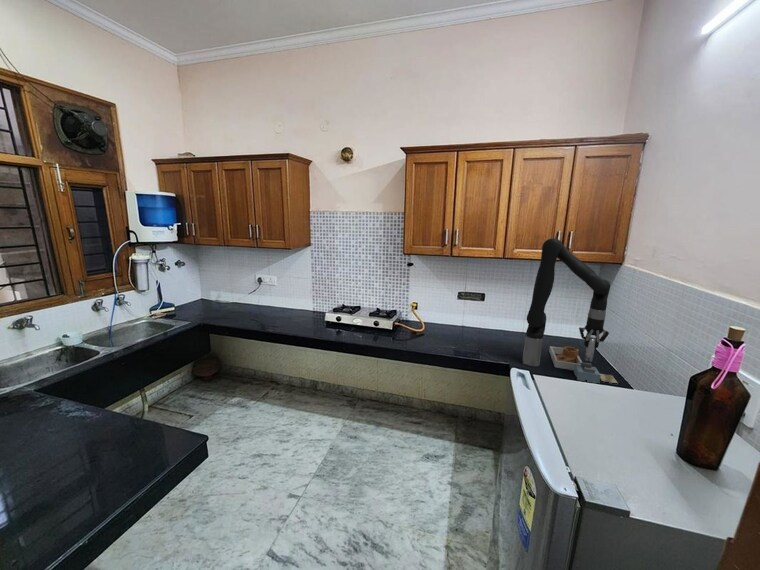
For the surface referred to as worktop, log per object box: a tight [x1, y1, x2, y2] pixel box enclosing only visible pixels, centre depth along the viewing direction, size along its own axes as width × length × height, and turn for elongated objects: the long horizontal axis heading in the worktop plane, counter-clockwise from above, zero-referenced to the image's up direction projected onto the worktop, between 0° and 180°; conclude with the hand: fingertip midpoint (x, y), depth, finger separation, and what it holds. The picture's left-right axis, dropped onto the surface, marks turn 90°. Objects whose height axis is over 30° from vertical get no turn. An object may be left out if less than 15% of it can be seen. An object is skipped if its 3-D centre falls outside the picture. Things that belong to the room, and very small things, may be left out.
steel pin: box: [584, 336, 596, 363], centre depth 169 cm, size 4×4×13 cm
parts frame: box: [548, 345, 583, 371], centre depth 193 cm, size 14×24×4 cm, turn 159°
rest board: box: [600, 373, 619, 385], centre depth 171 cm, size 7×9×1 cm
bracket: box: [555, 346, 580, 363], centre depth 193 cm, size 18×8×7 cm, turn 119°
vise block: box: [573, 361, 601, 384], centre depth 172 cm, size 10×10×7 cm
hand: (590, 347), depth 169 cm, fingers closed on steel pin, 3 cm apart
